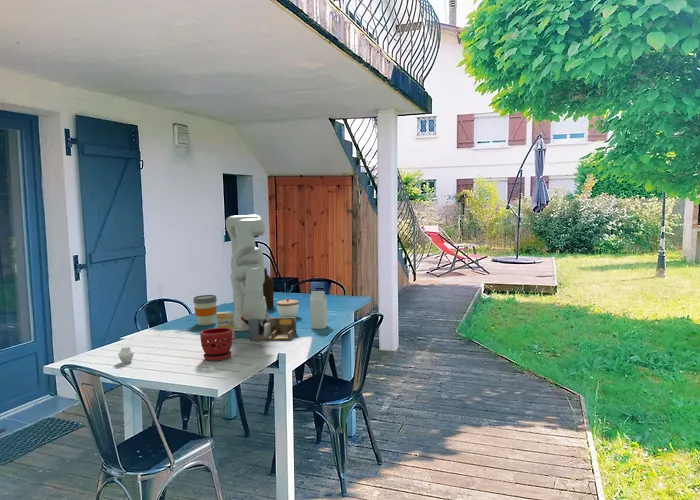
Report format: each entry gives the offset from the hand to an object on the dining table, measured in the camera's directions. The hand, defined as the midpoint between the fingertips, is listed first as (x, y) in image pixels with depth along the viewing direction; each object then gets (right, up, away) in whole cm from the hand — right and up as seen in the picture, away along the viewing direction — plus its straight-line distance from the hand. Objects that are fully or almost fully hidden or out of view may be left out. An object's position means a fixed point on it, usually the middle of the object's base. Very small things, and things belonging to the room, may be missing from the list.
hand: (256, 333), depth 234 cm
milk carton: (+27, -3, +33) cm, 43 cm away
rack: (+6, -4, +17) cm, 19 cm away
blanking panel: (0, -2, 0) cm, 2 cm away
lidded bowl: (+7, -1, +61) cm, 62 cm away
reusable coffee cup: (-38, -3, +53) cm, 66 cm away
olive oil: (-11, +1, +94) cm, 95 cm away
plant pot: (-14, -8, -15) cm, 22 cm away
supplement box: (-18, -6, +18) cm, 26 cm away
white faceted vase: (-52, -10, -16) cm, 55 cm away
